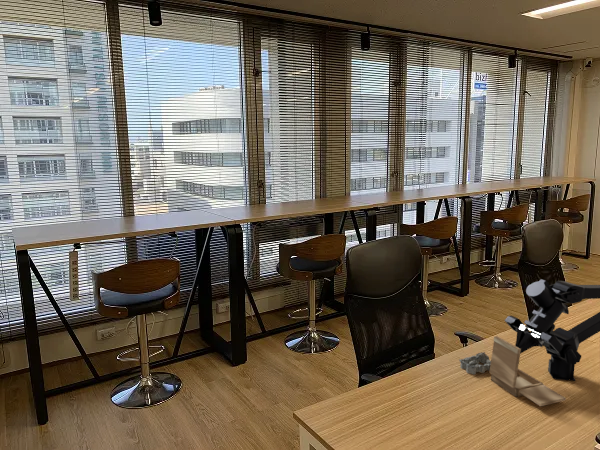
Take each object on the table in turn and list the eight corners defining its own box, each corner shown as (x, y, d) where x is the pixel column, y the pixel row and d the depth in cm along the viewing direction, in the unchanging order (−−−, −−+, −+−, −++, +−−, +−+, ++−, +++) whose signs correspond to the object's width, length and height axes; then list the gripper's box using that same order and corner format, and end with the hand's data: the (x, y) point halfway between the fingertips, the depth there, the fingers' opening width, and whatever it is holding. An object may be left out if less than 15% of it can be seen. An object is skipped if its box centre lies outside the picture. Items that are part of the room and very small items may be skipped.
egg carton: (484, 362, 166) (485, 351, 165) (498, 372, 158) (498, 360, 158) (456, 365, 163) (457, 354, 163) (468, 376, 156) (469, 364, 156)
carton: (516, 374, 156) (516, 367, 155) (566, 405, 138) (566, 397, 137) (490, 380, 153) (491, 372, 152) (538, 412, 135) (539, 403, 134)
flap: (491, 372, 152) (497, 336, 150) (515, 387, 142) (520, 349, 141) (489, 372, 151) (494, 336, 150) (512, 387, 142) (517, 349, 140)
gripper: (585, 341, 143) (553, 382, 141) (536, 320, 160) (507, 356, 159) (566, 320, 139) (533, 361, 137) (519, 300, 156) (489, 337, 155)
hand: (515, 354), depth 147 cm, fingers closed
